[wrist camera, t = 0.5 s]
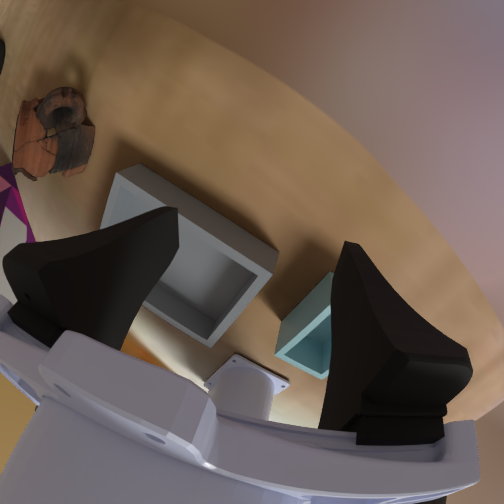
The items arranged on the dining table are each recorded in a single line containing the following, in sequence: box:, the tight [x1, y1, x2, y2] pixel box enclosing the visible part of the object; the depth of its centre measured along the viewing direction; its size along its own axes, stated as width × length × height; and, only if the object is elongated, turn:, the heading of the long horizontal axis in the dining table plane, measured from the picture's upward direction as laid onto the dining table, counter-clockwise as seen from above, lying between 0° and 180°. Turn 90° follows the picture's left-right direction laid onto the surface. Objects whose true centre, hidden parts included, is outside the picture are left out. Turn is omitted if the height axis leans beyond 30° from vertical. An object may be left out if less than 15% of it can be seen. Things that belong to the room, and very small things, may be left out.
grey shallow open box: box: [100, 163, 279, 348], centre depth 24 cm, size 11×14×4 cm
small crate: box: [274, 271, 334, 380], centre depth 24 cm, size 8×6×4 cm
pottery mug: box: [12, 87, 95, 181], centre depth 20 cm, size 12×10×8 cm
